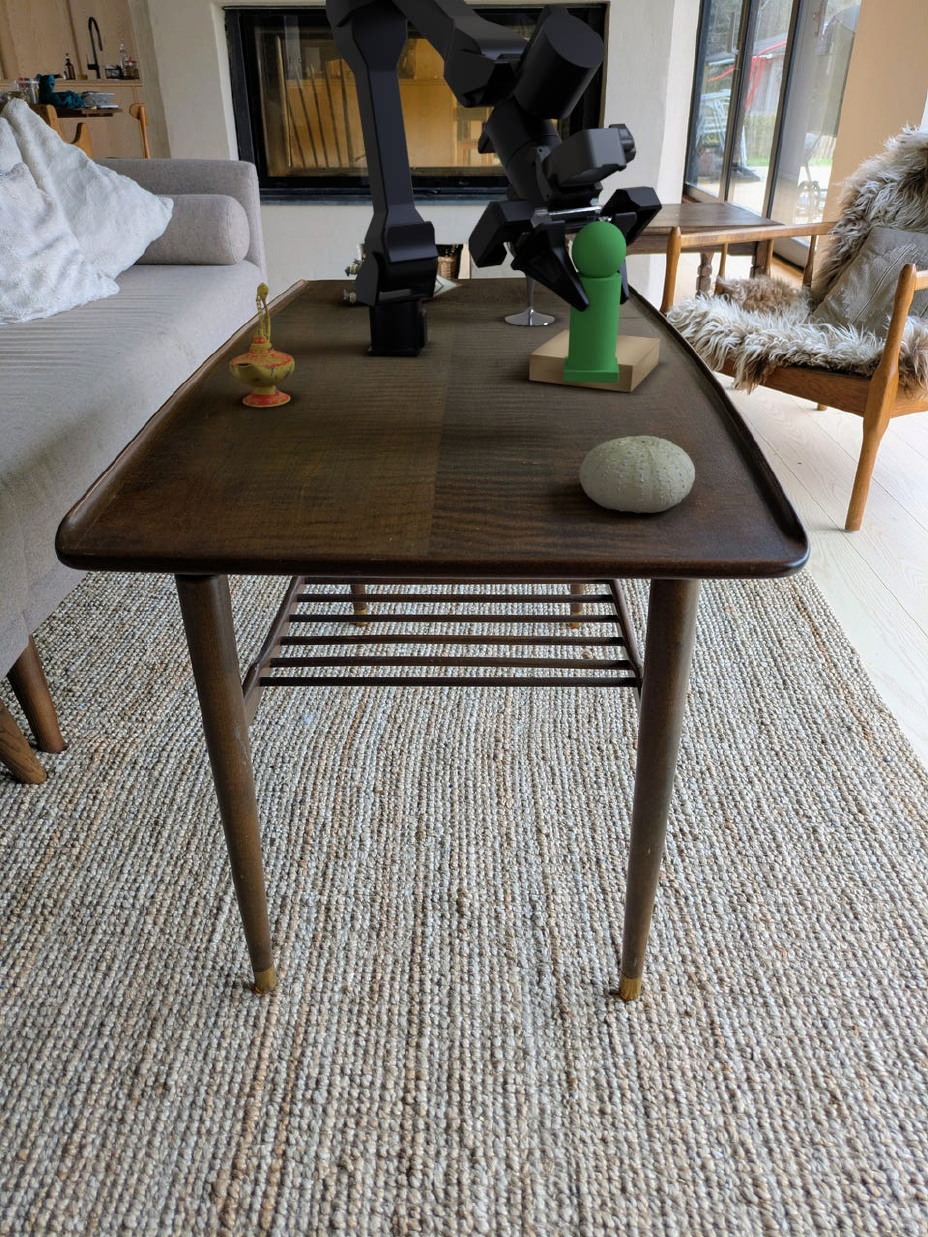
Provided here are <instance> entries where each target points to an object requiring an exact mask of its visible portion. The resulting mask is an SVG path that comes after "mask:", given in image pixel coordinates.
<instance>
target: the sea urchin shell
mask: <svg viewBox="0 0 928 1237" xmlns="http://www.w3.org/2000/svg"><path fill="white" fill-rule="evenodd" d="M695 474H696V469H695V465H694V463H693V461H692V459H691V457H690V456H689V454H688V453H687V452H686V451H685V450H684V449H683V448H682V447H680V446H679V445H676V444H675V443H673V442H672V441H671V440H670V441H669V440H667V439H665V438H660V437H657V436H654V435H653V436H651V435H650V436H649V435H637V436H625V437H621V438H619V437H617V438H615V439H611V440H610V439H609V440H607V441H604V442H603V443H600V444H597V445H596V446H594V447H593V448H592V449H591V450H589V451H588V452H587V454H586V455H585V457H584V458H583V460H582V463H581V465H580V468H579V473H578V478H579V483H580V484H581V487H582V489H583V490H584V493H585V494H587V495H586V497H588V498H590V500H592V501H594V502H595V503H596V504H597V505H598V506H601V507H603V508H606V509H607V510H616V511H620V512H633V513H636V514H640V513H649V514H650V513H651V514H654V513H660V512H664V511H667V510H669V509H670V508H672V507H674V506H677V505H678V504H680V503H681V501H682V500H683V499H684V498H685V499H686V497H687V496H688V495H689V494H690V492H691V490H692V488H693V485H694V481H695V479H696V475H695Z"/></svg>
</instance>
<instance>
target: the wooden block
mask: <svg viewBox="0 0 928 1237" xmlns="http://www.w3.org/2000/svg"><path fill="white" fill-rule="evenodd" d="M569 330H570V329H563V330H562V331H560V332H559V333H558V334H556V335H555V336H554V337H552V338H551V339H549V340H548V341H546V342H545V343H543V344H542V345H540V346H539V347H538V348H536V349H535V350H534V351H533V352H531V353H530V354H529V373H528V374H529V379H528V380H529V381H535V382H542V383H551V384H558V385H565V386H573V387H575V386H576V387H583V388H591V389H600V390H608V391H616V392H623V393H624V392H625V393H632V392H633V391H634V390H635V389H636V388H637V386H639V384H641V382H643V380H644V379H645V378H646V377H647V376H648V375H649V374H650V373H651V372H652V371H653V370H654V369H655V367H657V366H658V365H659V359H660V358H659V356H660V346H661V338H655V337H645V336H633V335H624V334H617V343H616V356H615V357H617V361H618V370H619V376H618V383H603V382H565V381H564V364H565V356H568V349H569Z"/></svg>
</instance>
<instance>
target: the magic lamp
mask: <svg viewBox="0 0 928 1237" xmlns="http://www.w3.org/2000/svg"><path fill="white" fill-rule="evenodd" d="M269 291H270V289H269V287H268V285H267V284H266V283H264V282H261V283H259V285H258V286H257V288H256V298H255V304H256V308H257V314H258V319H259V326H260V328H256V331H255V332H254V333H253V334H252V338H253V339H254V340H253V341H252V343H251V344H250V347H249V350H248V352H246V353H243V354H240V355H238V356H236V357H234V358H233V359H231V361H230V362H229V371H230V373H231V374H232V376H233V377H234V378H235V380H237V381H239V382H240V383H242V384H245V385H247V386H251V387H254V389H253V391H252V392H251V393H250V394H249V395H247V396H246V397H244V398H243V399H242V403H243V404H244V405H245V406H248V407H253V408H272V407H277V406H281V405H284V404H286V403H288V402H289V401H291V397H290V395H289V394H288V393H284V392H282V391H280V390H279V389H278V388H277V387H276V385H278V384H281V383H283V382H284V381H286V380H287V379H288V378H289V377H291V376H292V374H293V373H294V370H295V364H296V363H295V359H294V358H293V356H292V355H290V354H288V353H285V352H283V351H277V350H275V348H274V346H273V345H272V343H271V341H270V339H271V317H270V312H269V308H268V305H267V303H266V302H267V301H266V300H267V297H268V295H269V293H270V292H269ZM261 302H262V303H261ZM262 304H263V307H262ZM263 308H264V311H265V315H266V323H265V318H264V313H263ZM266 324H267V329H266Z"/></svg>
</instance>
